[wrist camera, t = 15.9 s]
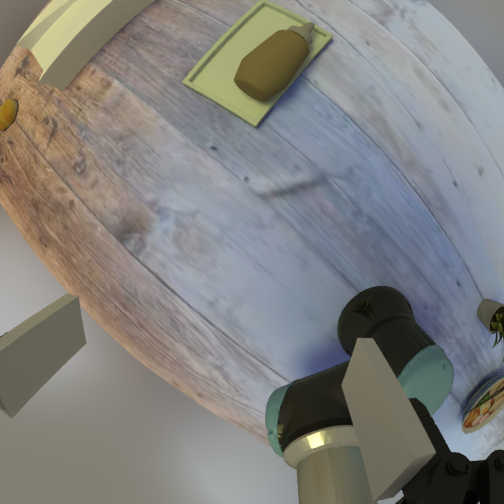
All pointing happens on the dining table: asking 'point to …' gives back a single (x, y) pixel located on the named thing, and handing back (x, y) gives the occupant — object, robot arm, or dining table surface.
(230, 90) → the tray
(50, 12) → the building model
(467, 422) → the ramen bowl
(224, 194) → the dining table surface
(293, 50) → the squeeze bottle
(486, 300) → the house plant
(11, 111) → the bread roll
